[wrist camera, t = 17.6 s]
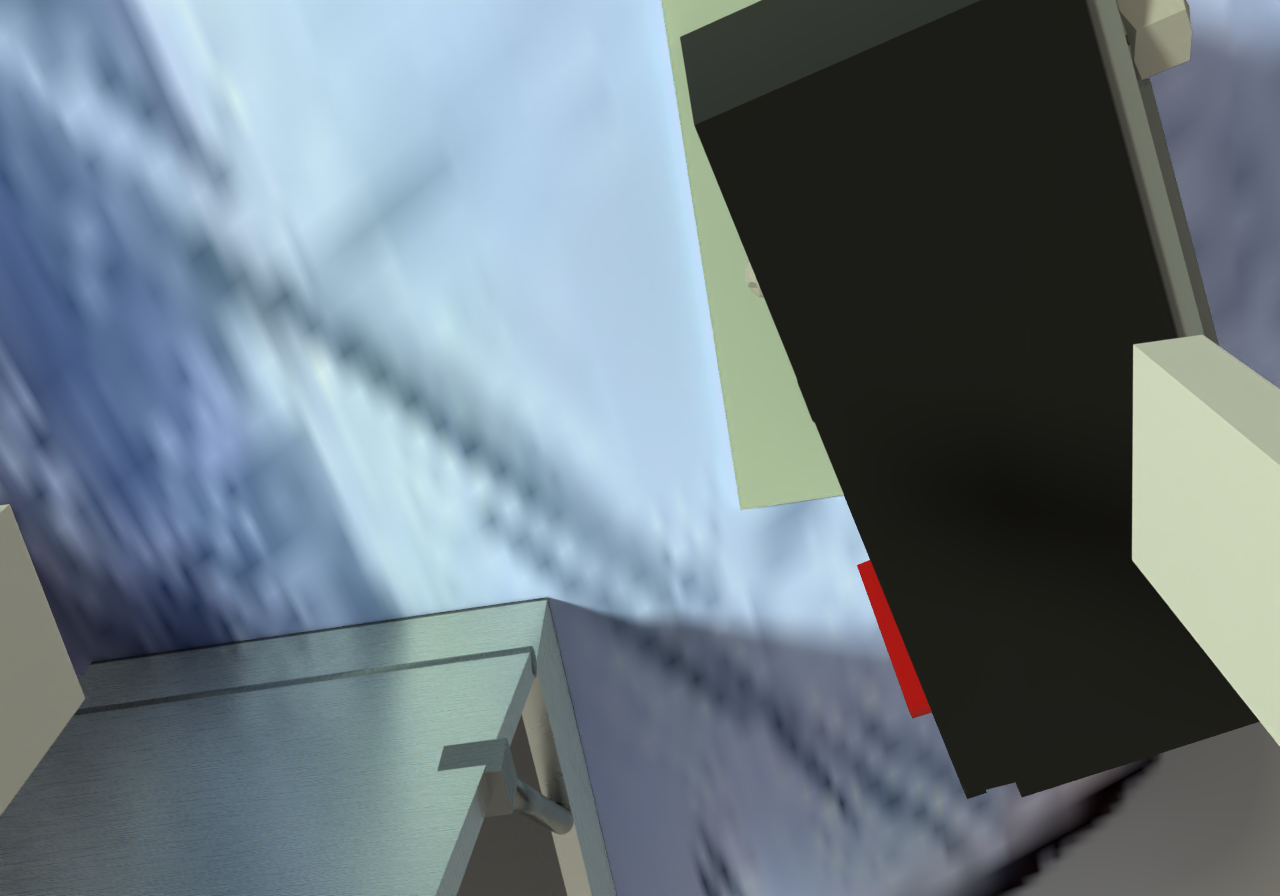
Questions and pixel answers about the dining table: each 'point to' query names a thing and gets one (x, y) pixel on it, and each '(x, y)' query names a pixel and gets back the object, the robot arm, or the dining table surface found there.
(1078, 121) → the electrical component
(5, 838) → the case
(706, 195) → the mat
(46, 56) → the dining table surface
